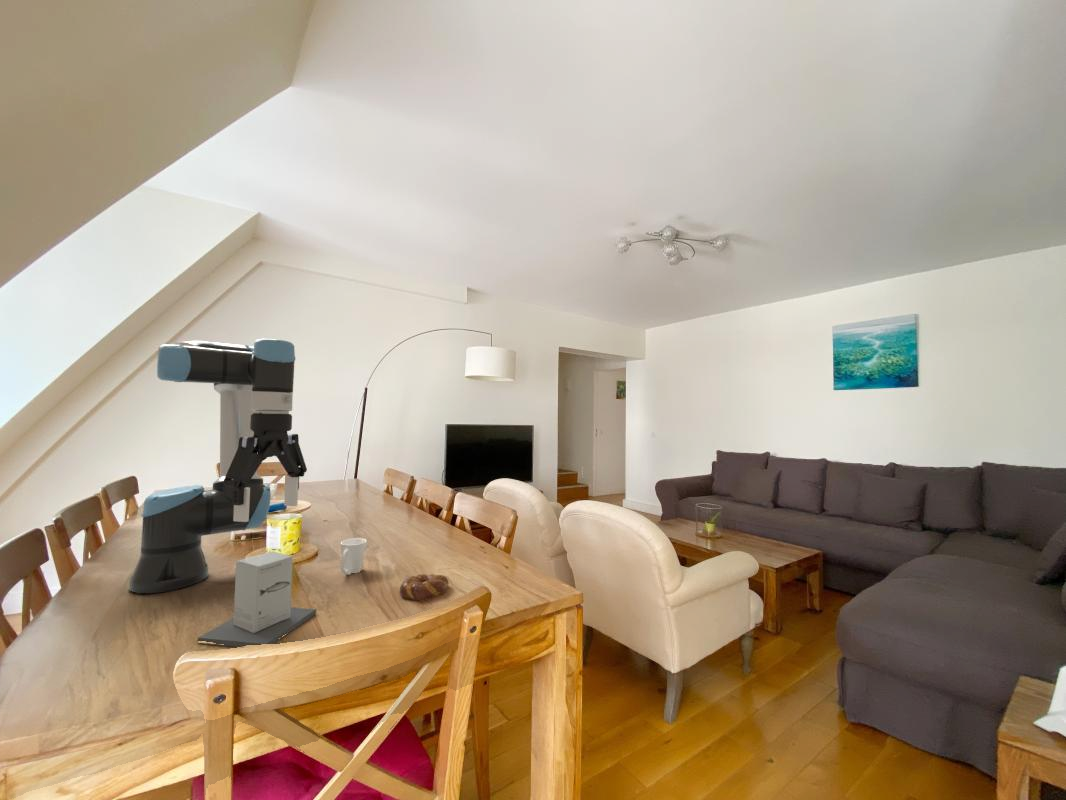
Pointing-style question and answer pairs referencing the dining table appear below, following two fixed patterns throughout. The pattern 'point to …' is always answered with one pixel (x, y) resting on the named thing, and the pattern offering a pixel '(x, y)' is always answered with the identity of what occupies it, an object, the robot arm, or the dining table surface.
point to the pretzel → (423, 586)
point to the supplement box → (262, 591)
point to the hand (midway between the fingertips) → (267, 513)
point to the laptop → (268, 635)
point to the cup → (352, 555)
